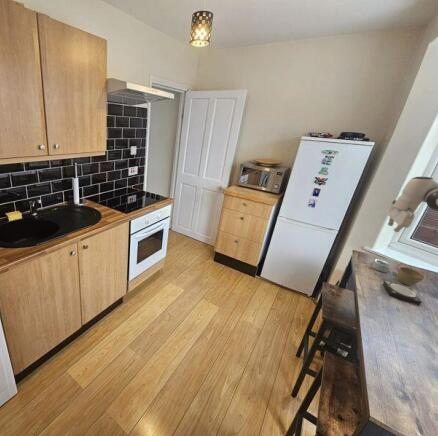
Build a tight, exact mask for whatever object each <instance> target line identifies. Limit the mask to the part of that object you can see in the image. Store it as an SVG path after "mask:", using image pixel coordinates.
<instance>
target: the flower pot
mask: <svg viewBox="0 0 438 436" xmlns="http://www.w3.org/2000/svg"><path fill="white" fill-rule="evenodd" d="M396 276H397V280H398V281H399V283H401V284H403V285H406V286H414V285H416V284H419V283H420V282H422V281H423V280H424V279H425V278H426V276H425V275H424V274H423V273H422V272H419V271H418V270H415V269H413V268H410V267H408V266H407V267H406V266H399V267H398V270H397V275H396Z"/></svg>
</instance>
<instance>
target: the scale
mask: <svg viewBox="0 0 438 436" xmlns="http://www.w3.org/2000/svg"><path fill="white" fill-rule="evenodd" d="M382 286H383V287H384V289H385V291H386V292H387V294H388V296H389V297H391V298H393V299H397V300H400V301H403V302H407V303H409V304H413V305H415V306H420V305H421V304H422V302H423V301H422V300H421V298H419V296H418V295H417V294H416V293H417V292H416V291H414V289H413V288H411V287H407V286H404V285H402V284H398V283H395V282H390V281H387V280H384V281H383V283H382Z"/></svg>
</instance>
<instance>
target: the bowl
mask: <svg viewBox="0 0 438 436" xmlns="http://www.w3.org/2000/svg"><path fill="white" fill-rule="evenodd" d="M371 268H373V269H374V270H376V271H378V272H381V273H386V272H388V271H389V269H390V268H391V264H390V263H388V262H387V261H384V260H382V259H375V260H374V261H373V263H372V265H371Z"/></svg>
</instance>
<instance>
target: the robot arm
mask: <svg viewBox="0 0 438 436" xmlns="http://www.w3.org/2000/svg"><path fill="white" fill-rule="evenodd" d="M422 203H426V205H427V207H428V208H430V209H432V210H433V211H438V181H437V180H435V178H434V177H429V176H414V177H412V178H410V179H409V180H408V182H407V183H406V184H405V186H404V187H403V189H402V190H401V194H400V195H399V196H398V197H397V199H393V200H392V202H391V206H390V207H389V209H388V211H387V216H388V217H389V218H388V222H387V226H389V227H393V226H394V223H396V224H397V225H396V227H394V229H393V231H394V232H395V233H399V232H400V231H401V230H402V229H404V228H405V229H407V228H410V227H411V226H412V224H413V222H414V220H415V218H416V214H415V213H416V212H417V211H418V210H419V208H420V206H421V205H422Z"/></svg>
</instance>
